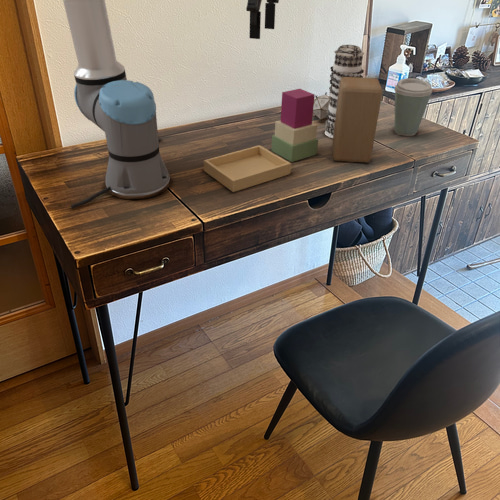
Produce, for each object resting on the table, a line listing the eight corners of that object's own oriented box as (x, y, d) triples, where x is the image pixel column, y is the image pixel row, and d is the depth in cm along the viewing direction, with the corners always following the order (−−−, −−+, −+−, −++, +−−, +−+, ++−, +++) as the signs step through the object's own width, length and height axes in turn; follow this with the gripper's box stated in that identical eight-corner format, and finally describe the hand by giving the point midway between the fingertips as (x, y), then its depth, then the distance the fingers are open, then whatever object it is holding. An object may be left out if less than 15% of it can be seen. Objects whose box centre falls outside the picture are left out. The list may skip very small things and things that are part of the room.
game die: (319, 128, 160) (325, 98, 161) (339, 126, 154) (345, 95, 154) (301, 119, 155) (307, 88, 155) (321, 116, 148) (327, 84, 148)
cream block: (293, 145, 128) (294, 130, 126) (274, 135, 133) (275, 121, 131) (315, 139, 132) (317, 124, 130) (297, 129, 137) (298, 115, 135)
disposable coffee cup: (429, 137, 146) (441, 87, 137) (396, 140, 144) (407, 89, 135) (411, 124, 154) (421, 76, 145) (380, 127, 152) (389, 78, 143)
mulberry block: (294, 128, 127) (296, 98, 122) (280, 121, 131) (282, 92, 126) (311, 124, 130) (314, 94, 125) (297, 117, 134) (299, 88, 129)
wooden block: (366, 149, 138) (378, 77, 127) (370, 164, 130) (383, 89, 118) (331, 147, 139) (340, 75, 127) (332, 162, 131) (342, 87, 119)
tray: (233, 192, 116) (233, 180, 114) (204, 170, 125) (203, 160, 123) (290, 174, 124) (291, 163, 123) (259, 155, 133) (259, 145, 132)
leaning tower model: (347, 142, 142) (359, 52, 127) (318, 135, 146) (327, 47, 131) (358, 132, 148) (372, 45, 134) (331, 126, 152) (341, 41, 138)
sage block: (291, 162, 130) (292, 146, 128) (271, 150, 136) (272, 135, 134) (316, 154, 135) (318, 139, 132) (296, 143, 140) (297, 128, 138)
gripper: (264, -55, 111) (261, 44, 123) (292, -60, 130) (287, 26, 142) (234, -56, 113) (234, 41, 125) (265, -61, 132) (262, 23, 144)
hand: (262, 33), depth 134 cm, fingers open, 13 cm apart
